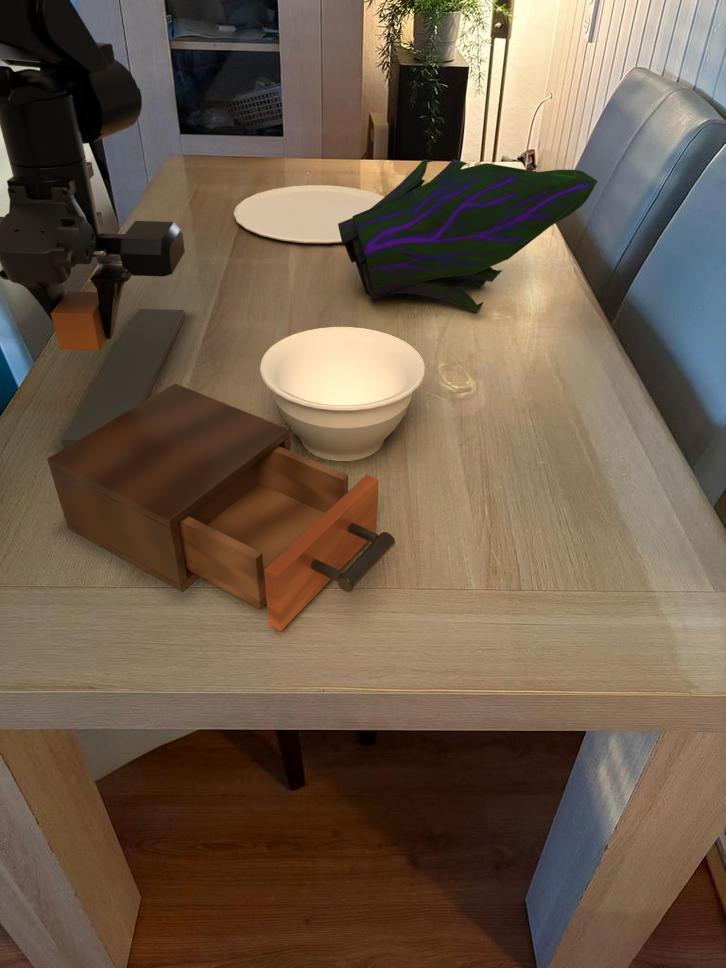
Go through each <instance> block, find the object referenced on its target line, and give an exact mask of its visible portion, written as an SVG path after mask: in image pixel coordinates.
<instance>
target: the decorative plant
mask: <svg viewBox="0 0 726 968" xmlns="http://www.w3.org/2000/svg"><path fill="white" fill-rule="evenodd" d="M432 162H434V160H432V159H425V158H424V159H422V160H421V161H420V162H419V164H418V165H417V166H416V168H414V169H413V170H412V171H411V172H410V173H409V174H408V175H407V176H406V177H405V178H404V179H403V180H402V181H400V183H399V184H398V185H397V186H396V187H394V189H392V190H391V191H390V192H389V193H387V194H386V195H385V196H384V198H383V199H382V200H380V201H379V202H378V203H377V204H375V205H374V206H373V207H372V208H370V209H369V210H366V211H364V212H361V213H359V214H357V215H354V216H352V217H353V218H351V219H348V220H346V221H343V222H341V223H338V227H339V232H340V236H341V240H342V242H341V244H342V247H345V250H346V253H347V255H348V258H349V260H350V262H351V264H353V263H355V265H356V268H357V272H358V275H359V278H360V281H361V284H362V287H363V290H364V293H365V294H368V295H369V297H370V299H371V300H374V299H377V298H380V297H384V296H387V295H396V294H412V295H418V296H421V297H422V296H423V297H426V298H427V297H428V298H432V299H436V300H440V301H444V302H446V303H447V302H448V303H451V304H453V305H456V306H459V307H462V308H465V309H468V310H469V311H472V312H474V313H476V314H477V313H478V312H479V310H480V309H481V307H482V306H483V304H484V303H485V302H484V301H483V302H480V303H478V304H477V303H476V302H475V300H474V299H473V298H472V296H471V295H470V294H469V293H468V292H466V290H464V289H463V288H466V287H467V288H473V289H478V290H479V289H480V288H482V287H483V286H484V285H485V284H486V282H489V283H493V281H494V280H495V279H496V278H497V277H498V276H499V275H500V274H501V273H502V272H503V269H499V270H498V269H494V268H493V266H495V265H498V264H500V263H503V262H505V261H508V260H510V259H511V258H512V257H514V256H515V255H516V254H517V253H518V252H520V251H521V250H522V249H524V248H525V247H526V246H528V245H529V244H530V243H531V242H533V241H534V240H535V239H536V238H537V237H539V236H540V235H541V234H543V233H544V232H545V231H546V230H548V229H549V228H551V226H553V225H555V224H557V223H559V222H560V221H562V220H564V219H565V218H567V217H569V216H571V215H572V214H573V213H574V212H576V211H577V210H579V209H580V208H581V207H582V206H583V205H584V204H585V203H586V202H587V201H588V199H589V197H590V196H591V194H592V192H593V190H594V189H595V187H596V185H597V183H598V180H597V179H595V178H594V177H592V176H591V175H589V174H588V173H586V172H585V171H583V170H578V169H552V170H542V171H541V170H540V171H536V170H530V169H524V168H518V167H512V166H508V165H507V166H506V165H502V164H501V165H500V164H495V163H494V164H493V163H488V162H485V163H481V164H477V165H473V166H469V167H464V166H467V164H469V162H466V161H463V160H458V159H455V158H453V159H452V160H451V161H450V162H449V163H448V164H447V165H446V166H445V167H444V168H443V169H442V170H441V171H440V172H439V173H438V174H437V175H436V176H435V177H433V178H432V179H431V180H430V181H428V182H426V180H425V179H423V178H424V176H425V174H426V173H427V167H428V164H429V163H432ZM463 167H464V168H463ZM425 182H426V183H425Z"/></svg>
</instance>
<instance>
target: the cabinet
mask: <svg viewBox="0 0 726 968" xmlns="http://www.w3.org/2000/svg"><path fill="white" fill-rule="evenodd" d="M277 446H280V447H282V448H285V449H287V450H289V451H292V449H291V429H290V428H288V427H285V426H282V425H280V424H277V423H275V422H273V421H270V420H267V419H265V418H262V417H259V416H258V415H255V414H252V413H250V412H247V411H245V410H242V409H240V408H238V407H235V406H232V405H230V404H228V403H226V402H223V401H220V400H218V399H215V398H212V397H210V396H208V395H205V394H202V393H200V392H198V391H195V390H193V389H190V388H187V387H185V386H182V385H181V384H178V383H173V384H171V385H169V386H168V387H166V388H164V389H163V390H161V391H159V392H158V393H156V394H154V395H152V396H150V397H148V398H147V399H146V401H144V402H142V403H141V404H139V405H137V406H135V407H134V408H132V409H130V410H129V411H127V412H125V413H124V414H122V415H120V416H118V417H117V418H115V419H113V420H112V421H110V422H108V423H107V424H105V425H103V426H101V427H100V428H98V429H96V430H95V431H93V432H91V433H90V434H88V435H86V436H84V437H83V438H81V439H79V440H78V441H76V442H74V443H73V444H71V445H69V446H67V447H63V448H62V449H60V450H59V451H57V452H55V453H54V454H52V455H51V456H49V457H47V458H46V461H47V463H48V467H49V470H50V474H51V477H52V479H53V483H54V487H55V490H56V493H57V496H58V501H59V504H60V507H61V510H62V514H63V517H64V520H65V523H66V527H67V529H69V530H70V531H72V532H74V533H75V534H77V535H79V536H81V537H83V538H84V539H86V540H88V541H90V542H92V543H94V544H95V545H97V546H99V547H101V548H103V550H106V551H108V552H110V553H112V554H113V555H115V556H117V557H119V558H120V559H122V560H124V561H125V562H128V563H129V564H131V565H133V566H135V567H137V568H139V569H140V570H141V571H144V572H146V573H147V574H149V575H150V576H153V577H154V578H156V579H158V580H160V581H162V582H163V583H165V584H167V585H169V586H171V587H172V588H174V589H176V590H178V591H179V592H181V593H182V592H184V591H186V589H188V588H189V587H190V586H191V585H192V584H194V583H195V582H196V581H197V580H198V579H199V578H201V577H200V576H199V575H197V574H195V573H193V572H191V571H189V570H187V569H186V567H185V561H184V556H183V550H182V544H181V539H180V533H179V527H178V522H179V521H181V520H182V519H183V518H185V517H186V516H187V515H188V514H190V513H191V512H192V511H194V510H195V509H196V508H198V507H199V506H200V505H201V504H203V503H204V502H205V501H207V500H208V499H209V498H211V497H212V496H213V495H215V494H216V493H217V492H218V491H220V490H221V489H222V488H224V487H225V486H226V485H228V484H229V483H230V482H231V481H233V480H234V479H235V478H237V477H238V476H239V475H241V474H242V473H243V472H245V471H246V470H247V469H248V468H250V467H251V466H252V465H254V464H255V463H256V462H258V461H259V460H260V459H261V458H263V457H264V456H265V455H267V454H268V453H269V452H271V451H272V450H273V449H275V448H276V447H277Z"/></svg>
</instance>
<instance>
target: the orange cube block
mask: <svg viewBox="0 0 726 968" xmlns="http://www.w3.org/2000/svg"><path fill="white" fill-rule="evenodd" d="M51 316H52V320H53V322H52V324H53V328H54V331H55V335H56V338H57V343H58V347H59V350H61V351H85V352H86V351H89V352H100V351H101V350H102V348H103V347H104V345H105V343H106V342H107V340H108V339H106V336H105V333H104V330H103V326H102V322H101V315H100V307H99V300H98V293H97V291H75V290H74V291H71V290H69V291H67V292H66V293H65V296H64V297H63V299H62V300H61V301H60V302H59V304H58V305H57V306H56V307H55V309H54V310H53V311H52V312H51Z"/></svg>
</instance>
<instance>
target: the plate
mask: <svg viewBox="0 0 726 968" xmlns="http://www.w3.org/2000/svg"><path fill="white" fill-rule="evenodd" d="M384 197H385V196H384V195H382V194H379V193H376V192H372V191H369V190H365V189H361V188H360V189H359V188H355V187H350V186H339V185H325V184H321V185H320V184H308V185H293V186H284V187H278V188H273V189H269V190H265V191H261V192H258V193H255V194H253V195H251V196H248V197H246V198H244V199H243V200H242V201H241V202H239V203H238V204H237V205H236V206H235V209H234V211H233V217H234V218H235V220H236V223H237V224H239V225H240V226H241V227H243V228H244V229H245V230H247V231H249V232H251V233H254V234H256V235H258V236H262V237H265V238H269V239H273V240H277V241H283V242H291V243H300V244H327V245H328V244H340V243H342V240H341V236H340V232H339V227H338V223H341V222H343V221H346V220H348V219H351V218H353V217H352V216H354V215H357V214H359V213H361V212H364V211H366V210H369V209H370V208H372V207H373V206H374V205H375V204H377V203H378V202H379V201H380V200H382V199H383V198H384Z"/></svg>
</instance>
